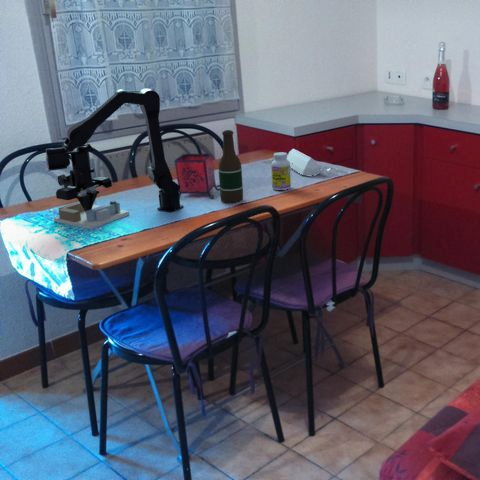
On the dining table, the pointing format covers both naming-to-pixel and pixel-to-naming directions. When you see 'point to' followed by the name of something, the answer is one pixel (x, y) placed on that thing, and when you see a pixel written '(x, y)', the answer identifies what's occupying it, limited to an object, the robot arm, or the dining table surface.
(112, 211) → the leg
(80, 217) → the seat
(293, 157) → the white triangular prism
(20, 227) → the dining table surface
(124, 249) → the dining table surface
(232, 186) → the beer bottle
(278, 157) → the supplement bottle
